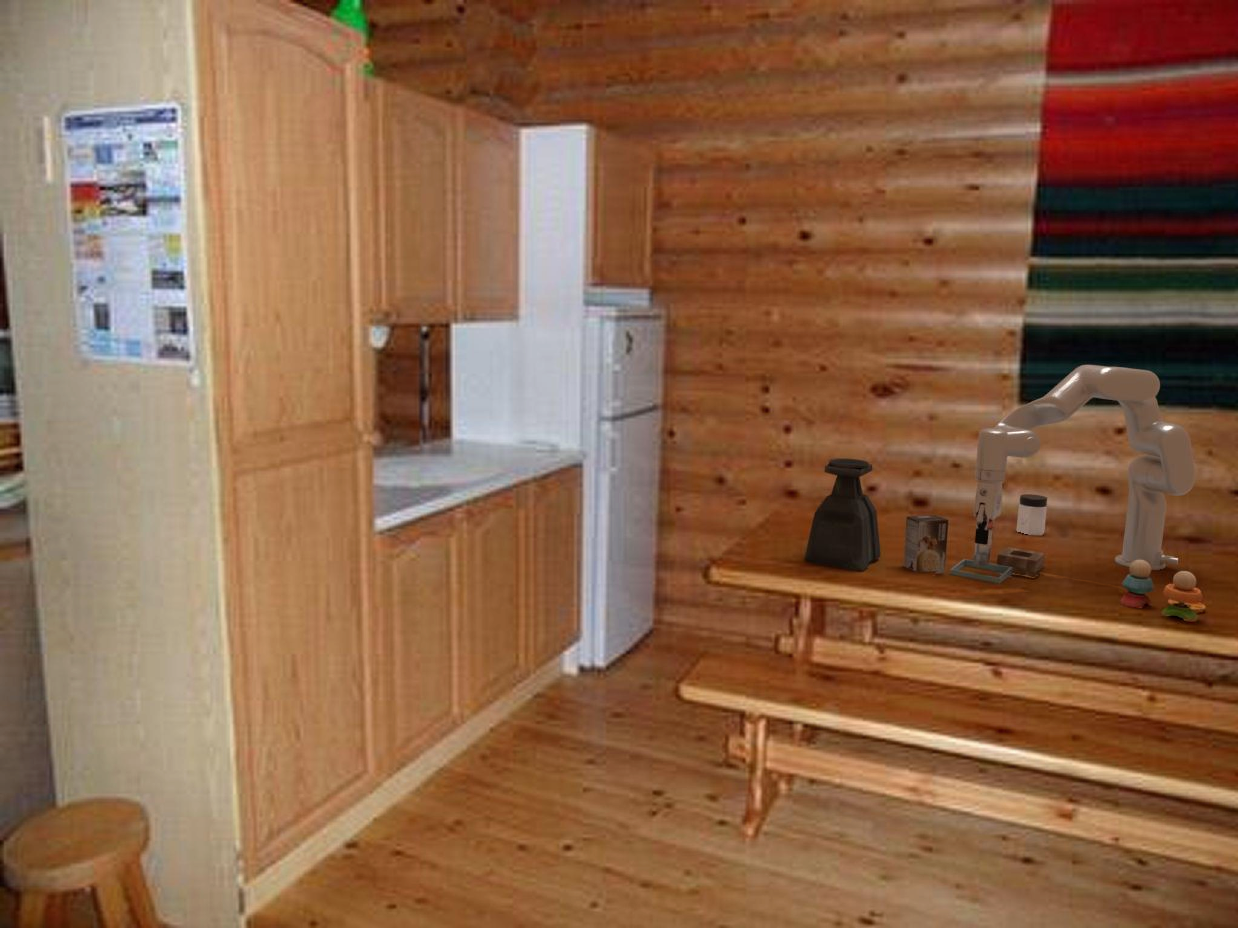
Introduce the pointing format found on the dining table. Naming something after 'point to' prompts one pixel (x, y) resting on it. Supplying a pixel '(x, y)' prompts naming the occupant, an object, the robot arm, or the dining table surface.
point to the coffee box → (926, 543)
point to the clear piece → (984, 548)
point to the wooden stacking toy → (1176, 592)
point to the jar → (1032, 514)
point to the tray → (999, 569)
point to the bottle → (845, 521)
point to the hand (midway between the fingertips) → (983, 541)
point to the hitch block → (1021, 561)
